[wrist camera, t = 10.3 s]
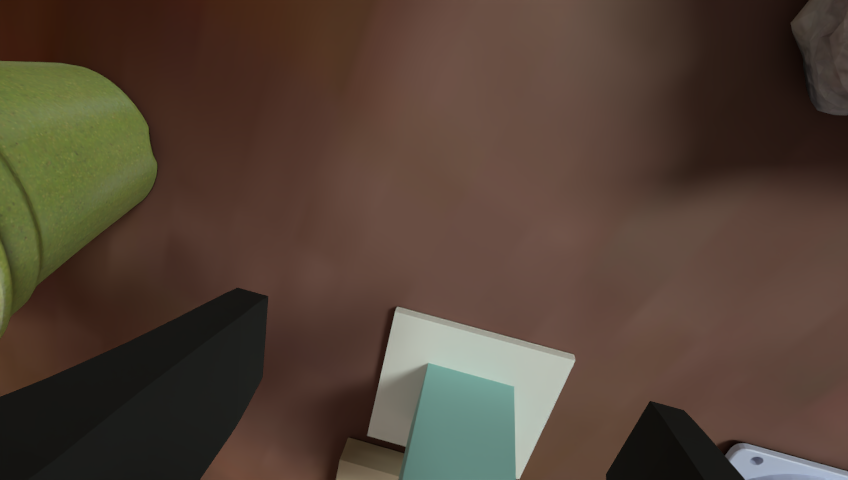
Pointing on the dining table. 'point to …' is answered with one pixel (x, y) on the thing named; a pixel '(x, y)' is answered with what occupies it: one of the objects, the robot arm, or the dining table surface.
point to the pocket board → (368, 462)
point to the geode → (824, 53)
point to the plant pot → (62, 169)
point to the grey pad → (473, 354)
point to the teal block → (461, 429)
